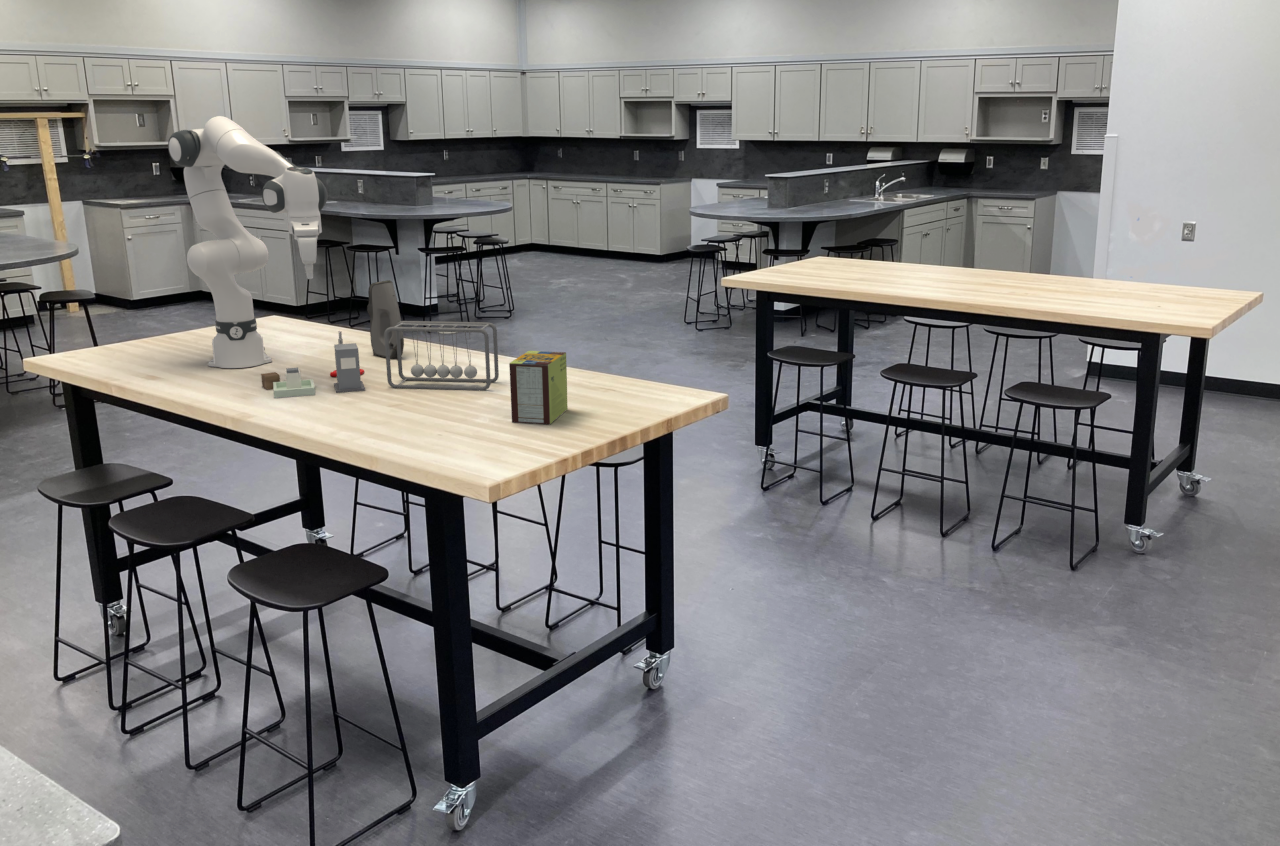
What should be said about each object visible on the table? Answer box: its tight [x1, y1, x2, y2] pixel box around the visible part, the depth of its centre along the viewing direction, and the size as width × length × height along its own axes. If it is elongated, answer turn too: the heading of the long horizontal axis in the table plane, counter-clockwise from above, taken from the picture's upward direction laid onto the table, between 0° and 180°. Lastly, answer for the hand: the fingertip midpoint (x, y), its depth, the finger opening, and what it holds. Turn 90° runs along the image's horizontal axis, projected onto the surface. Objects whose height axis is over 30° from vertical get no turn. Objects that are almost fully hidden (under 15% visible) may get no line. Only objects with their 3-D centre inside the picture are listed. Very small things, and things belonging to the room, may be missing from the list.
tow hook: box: [329, 330, 365, 378], centre depth 316 cm, size 9×14×10 cm
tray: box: [272, 378, 316, 399], centre depth 295 cm, size 11×11×2 cm
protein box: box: [508, 350, 569, 425], centre depth 269 cm, size 10×15×16 cm
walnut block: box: [260, 371, 281, 391], centre depth 301 cm, size 4×4×4 cm
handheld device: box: [366, 279, 405, 360], centre depth 338 cm, size 6×15×25 cm, turn 46°
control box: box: [333, 342, 366, 394], centre depth 299 cm, size 10×8×12 cm
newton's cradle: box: [384, 320, 500, 392], centre depth 301 cm, size 30×10×18 cm, turn 83°
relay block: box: [284, 367, 302, 389], centre depth 295 cm, size 4×4×6 cm
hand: (309, 276), depth 297 cm, fingers open, 8 cm apart
